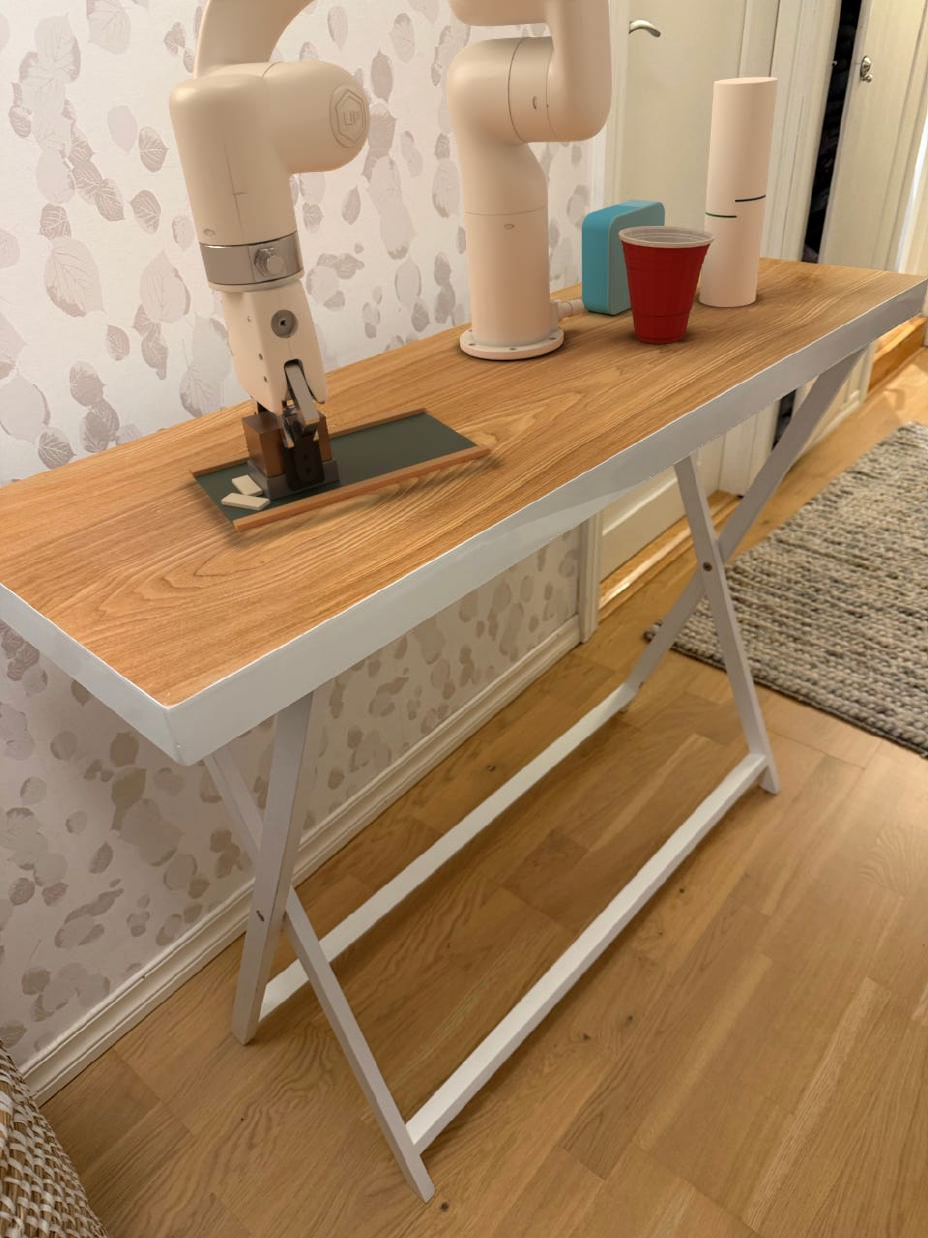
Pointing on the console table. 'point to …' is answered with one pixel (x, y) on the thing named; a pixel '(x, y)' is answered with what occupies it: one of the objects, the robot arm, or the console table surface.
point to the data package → (611, 252)
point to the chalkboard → (350, 463)
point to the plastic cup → (663, 278)
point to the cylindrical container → (737, 188)
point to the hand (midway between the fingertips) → (294, 472)
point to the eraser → (268, 456)
